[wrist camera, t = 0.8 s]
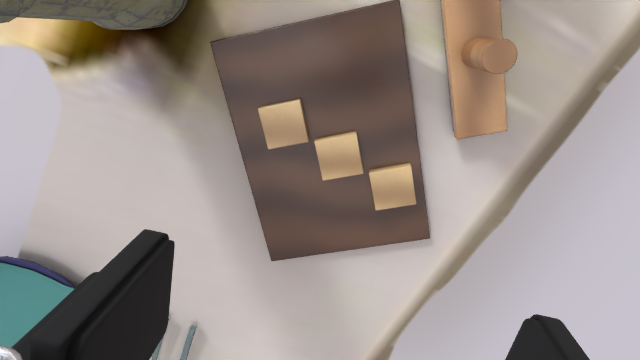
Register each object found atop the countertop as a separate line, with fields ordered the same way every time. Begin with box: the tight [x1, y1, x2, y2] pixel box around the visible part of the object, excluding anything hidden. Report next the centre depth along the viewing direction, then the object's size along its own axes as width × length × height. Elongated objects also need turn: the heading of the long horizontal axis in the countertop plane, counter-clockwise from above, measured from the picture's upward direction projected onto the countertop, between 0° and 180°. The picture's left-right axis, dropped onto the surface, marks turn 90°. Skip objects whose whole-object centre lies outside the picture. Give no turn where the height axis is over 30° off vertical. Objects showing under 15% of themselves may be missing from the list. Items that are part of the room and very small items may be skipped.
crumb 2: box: [314, 131, 364, 181], centre depth 38 cm, size 4×4×1 cm
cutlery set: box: [0, 256, 196, 360], centre depth 49 cm, size 20×30×2 cm, turn 70°
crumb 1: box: [258, 99, 310, 149], centre depth 38 cm, size 4×4×1 cm
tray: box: [210, 0, 430, 261], centre depth 39 cm, size 23×17×1 cm
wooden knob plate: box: [440, 0, 517, 139], centre depth 32 cm, size 4×14×8 cm, turn 12°
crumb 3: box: [369, 163, 416, 210], centre depth 39 cm, size 4×4×1 cm
